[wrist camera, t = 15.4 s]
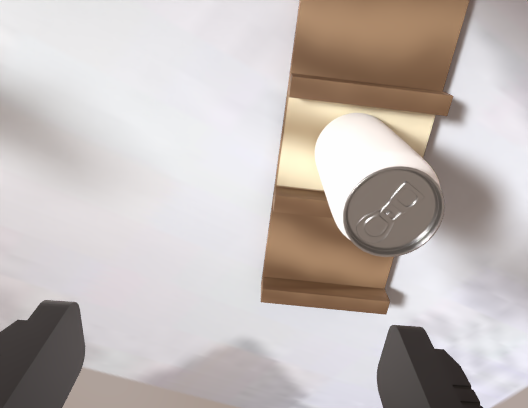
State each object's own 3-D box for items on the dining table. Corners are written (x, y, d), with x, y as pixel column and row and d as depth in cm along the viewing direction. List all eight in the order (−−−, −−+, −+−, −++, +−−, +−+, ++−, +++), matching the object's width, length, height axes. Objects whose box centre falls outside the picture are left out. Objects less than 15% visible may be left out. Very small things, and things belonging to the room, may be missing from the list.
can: (297, 155, 34) (311, 221, 23) (351, 94, 31) (395, 134, 20) (353, 200, 35) (391, 282, 24) (408, 144, 33) (477, 206, 22)
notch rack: (309, -71, 28) (313, -81, 25) (477, -48, 28) (499, -55, 26) (261, 283, 40) (260, 302, 38) (378, 294, 41) (386, 314, 38)
